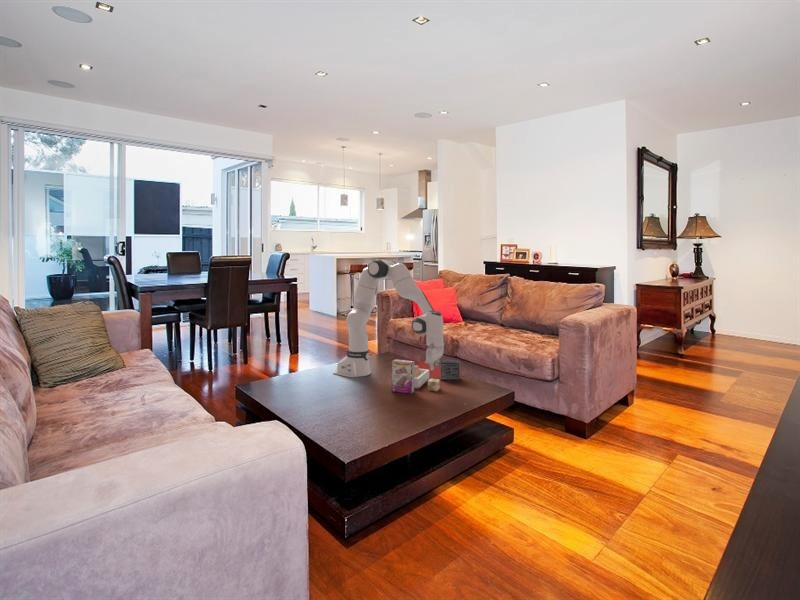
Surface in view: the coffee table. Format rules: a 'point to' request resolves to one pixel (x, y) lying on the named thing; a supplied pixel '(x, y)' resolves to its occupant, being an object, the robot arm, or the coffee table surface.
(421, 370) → the white tote
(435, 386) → the maple cube
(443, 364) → the small box
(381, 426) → the coffee table surface
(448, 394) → the coffee table surface
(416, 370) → the peach capsule
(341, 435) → the coffee table surface
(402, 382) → the candy bar box
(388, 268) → the robot arm
